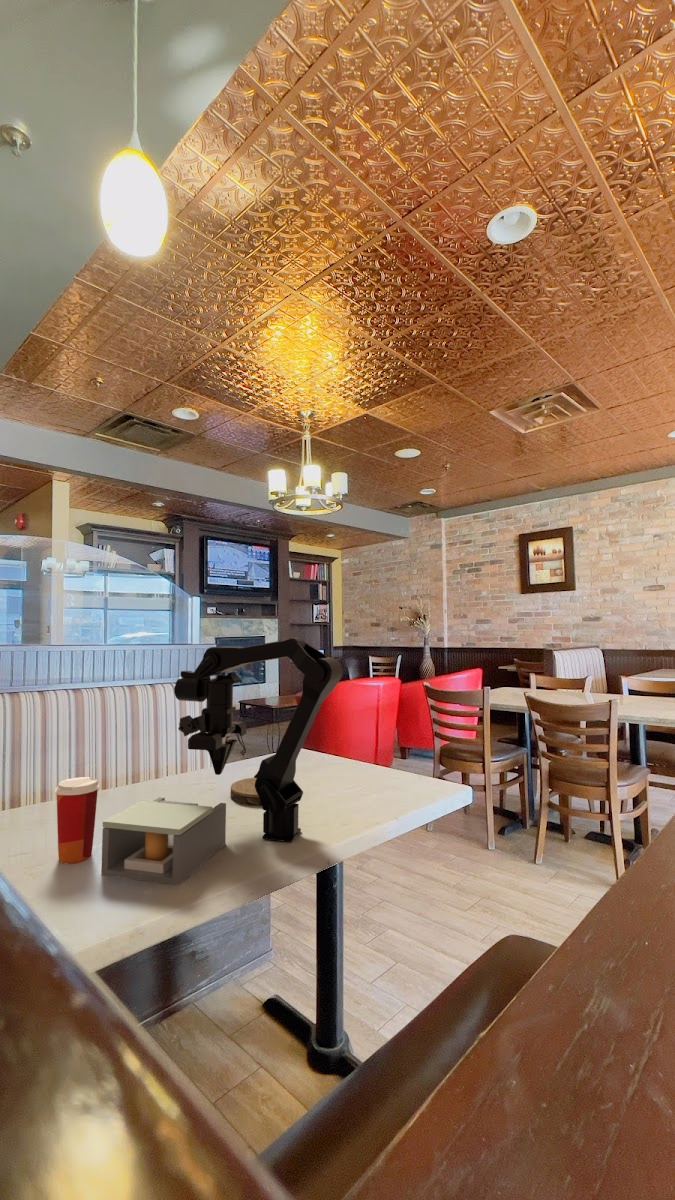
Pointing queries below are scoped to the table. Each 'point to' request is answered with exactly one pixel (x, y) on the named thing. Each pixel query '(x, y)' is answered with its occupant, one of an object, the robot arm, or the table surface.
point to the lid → (159, 817)
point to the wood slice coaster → (245, 792)
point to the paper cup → (76, 818)
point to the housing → (184, 851)
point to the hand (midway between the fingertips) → (218, 774)
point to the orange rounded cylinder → (156, 846)
